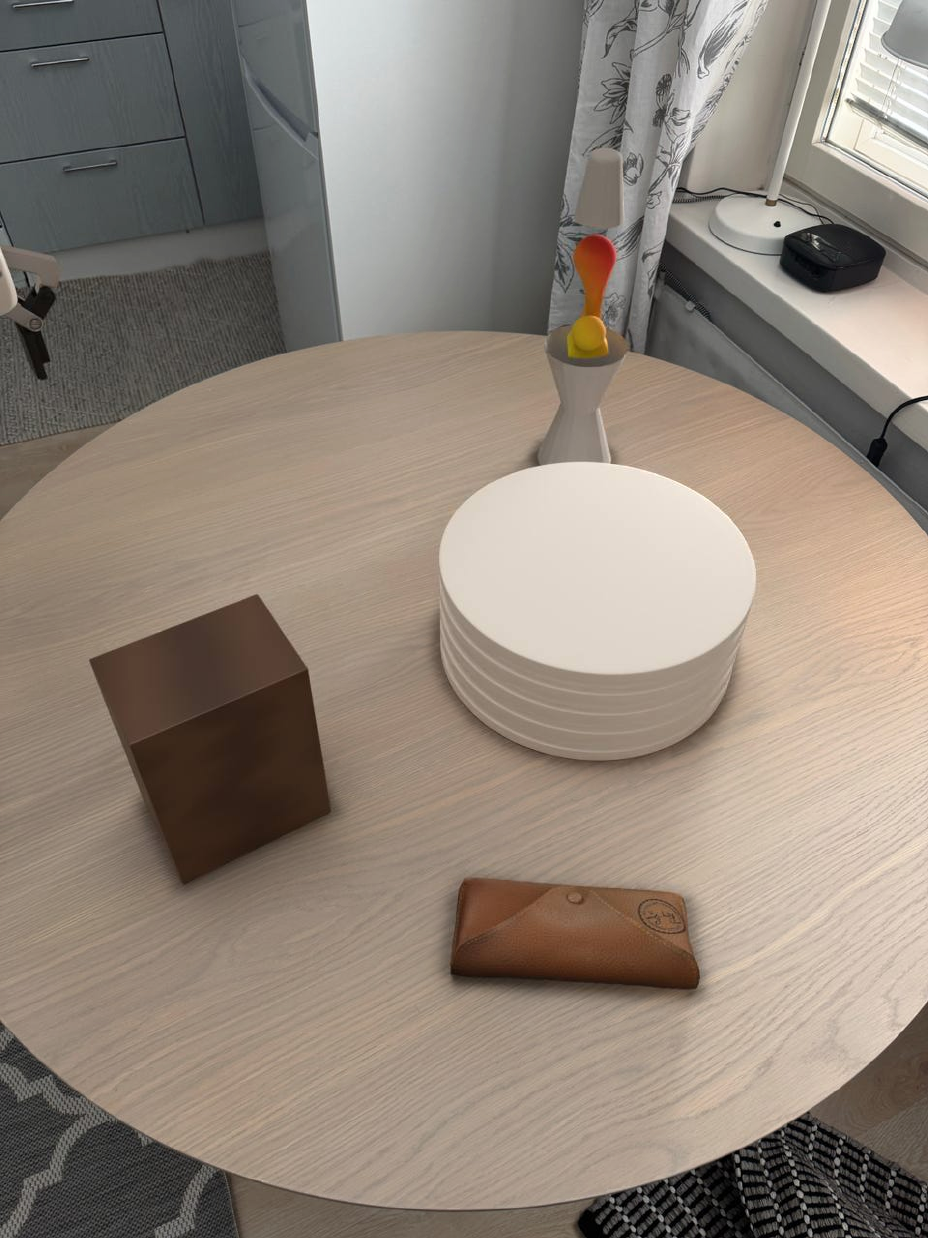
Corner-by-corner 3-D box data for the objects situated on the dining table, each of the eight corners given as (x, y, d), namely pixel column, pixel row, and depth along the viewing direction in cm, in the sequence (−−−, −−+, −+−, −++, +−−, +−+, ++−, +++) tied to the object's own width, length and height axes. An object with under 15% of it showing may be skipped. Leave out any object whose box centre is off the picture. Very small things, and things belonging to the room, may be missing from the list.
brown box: (182, 885, 78) (129, 745, 66) (141, 796, 84) (84, 652, 71) (331, 812, 83) (308, 668, 70) (282, 732, 89) (253, 586, 76)
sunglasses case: (685, 887, 78) (703, 889, 71) (686, 982, 76) (704, 993, 70) (455, 876, 78) (452, 877, 72) (451, 970, 77) (447, 980, 70)
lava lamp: (535, 434, 121) (556, 133, 96) (610, 436, 121) (650, 135, 96) (536, 480, 115) (559, 170, 90) (615, 482, 115) (659, 172, 90)
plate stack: (764, 754, 88) (796, 667, 79) (446, 767, 86) (445, 680, 78) (695, 544, 107) (715, 457, 99) (435, 552, 106) (433, 465, 98)
